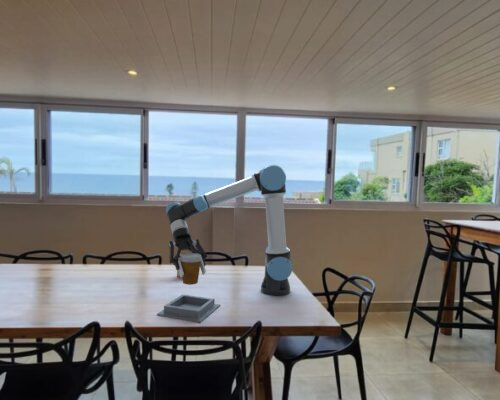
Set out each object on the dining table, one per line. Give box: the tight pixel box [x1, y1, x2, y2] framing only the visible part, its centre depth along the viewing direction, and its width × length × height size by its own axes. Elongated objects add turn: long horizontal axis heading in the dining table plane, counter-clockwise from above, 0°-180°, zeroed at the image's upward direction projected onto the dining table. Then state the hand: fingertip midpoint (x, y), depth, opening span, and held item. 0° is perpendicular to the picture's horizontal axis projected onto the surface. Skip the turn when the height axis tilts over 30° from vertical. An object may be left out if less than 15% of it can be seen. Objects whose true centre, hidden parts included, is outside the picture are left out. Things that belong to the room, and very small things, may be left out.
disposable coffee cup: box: [179, 252, 202, 286], centre depth 154 cm, size 10×10×12 cm
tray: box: [156, 294, 221, 323], centre depth 155 cm, size 20×20×4 cm
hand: (193, 274), depth 151 cm, fingers closed on disposable coffee cup, 9 cm apart
